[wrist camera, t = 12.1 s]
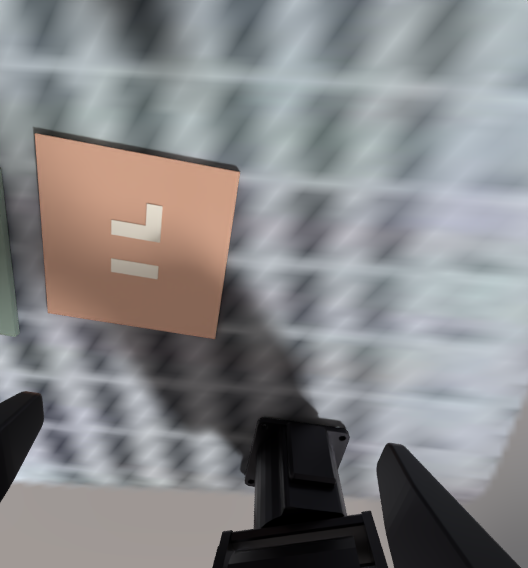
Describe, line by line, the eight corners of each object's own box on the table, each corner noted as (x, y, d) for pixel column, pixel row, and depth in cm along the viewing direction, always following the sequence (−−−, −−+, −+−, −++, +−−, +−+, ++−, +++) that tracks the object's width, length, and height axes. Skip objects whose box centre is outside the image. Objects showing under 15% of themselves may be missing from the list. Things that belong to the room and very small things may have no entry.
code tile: (215, 336, 22) (214, 339, 22) (50, 310, 22) (47, 313, 21) (240, 171, 18) (239, 172, 18) (38, 133, 17) (33, 133, 17)
